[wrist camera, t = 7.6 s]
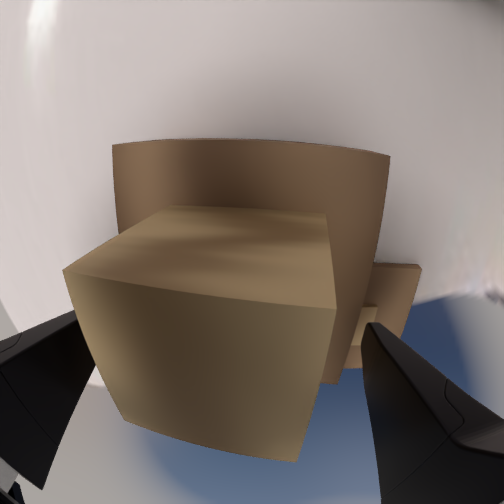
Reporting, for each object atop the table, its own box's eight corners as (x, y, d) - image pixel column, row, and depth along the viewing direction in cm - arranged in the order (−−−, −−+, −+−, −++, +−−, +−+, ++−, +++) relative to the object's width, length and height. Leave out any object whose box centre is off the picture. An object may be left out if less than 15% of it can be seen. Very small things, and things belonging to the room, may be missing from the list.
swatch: (418, 264, 15) (423, 271, 14) (387, 361, 18) (389, 369, 17) (289, 258, 16) (289, 265, 15) (281, 361, 19) (280, 370, 18)
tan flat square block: (368, 150, 12) (390, 156, 9) (335, 336, 17) (337, 384, 13) (157, 139, 14) (112, 144, 10) (169, 310, 18) (140, 347, 15)
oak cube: (325, 213, 10) (336, 309, 4) (309, 344, 12) (296, 461, 7) (170, 205, 11) (62, 270, 6) (184, 326, 13) (124, 420, 8)
